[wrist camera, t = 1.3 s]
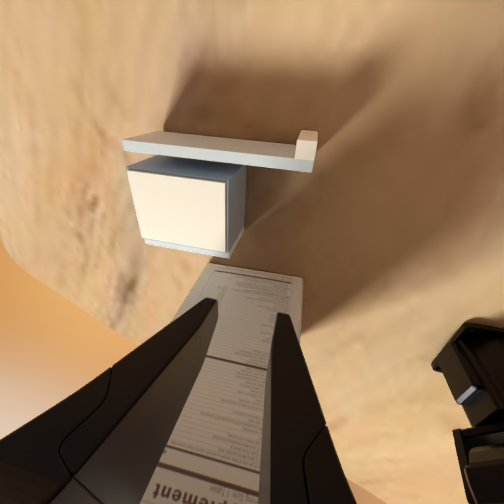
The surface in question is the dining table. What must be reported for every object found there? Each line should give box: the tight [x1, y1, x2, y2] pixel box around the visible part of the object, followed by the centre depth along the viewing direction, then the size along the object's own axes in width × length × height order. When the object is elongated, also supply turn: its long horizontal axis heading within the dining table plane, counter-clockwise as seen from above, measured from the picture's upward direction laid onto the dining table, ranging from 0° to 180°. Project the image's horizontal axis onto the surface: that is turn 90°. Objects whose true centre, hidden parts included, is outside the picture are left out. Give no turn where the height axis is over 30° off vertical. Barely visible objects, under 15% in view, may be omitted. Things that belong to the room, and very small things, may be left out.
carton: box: [126, 155, 247, 259], centre depth 18 cm, size 6×6×5 cm
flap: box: [122, 130, 318, 173], centre depth 15 cm, size 11×2×4 cm, turn 88°
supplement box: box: [140, 263, 304, 504], centre depth 18 cm, size 10×9×17 cm
